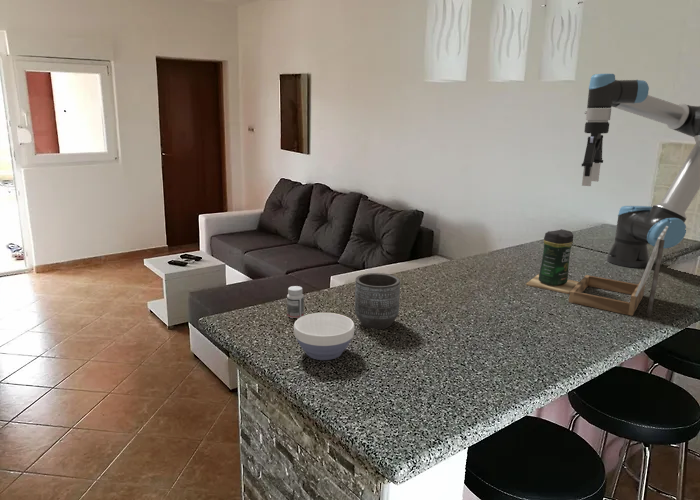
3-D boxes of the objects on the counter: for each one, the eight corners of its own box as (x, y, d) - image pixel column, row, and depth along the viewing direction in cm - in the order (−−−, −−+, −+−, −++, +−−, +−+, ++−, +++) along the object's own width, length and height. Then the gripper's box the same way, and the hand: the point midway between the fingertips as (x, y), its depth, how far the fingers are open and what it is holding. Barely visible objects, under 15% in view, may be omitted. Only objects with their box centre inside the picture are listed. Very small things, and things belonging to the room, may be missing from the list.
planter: (347, 318, 146) (348, 275, 143) (385, 312, 151) (387, 270, 147) (365, 335, 135) (367, 289, 132) (406, 328, 140) (408, 283, 137)
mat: (538, 275, 188) (538, 273, 188) (578, 283, 180) (579, 281, 180) (525, 285, 177) (526, 283, 177) (568, 293, 170) (568, 292, 169)
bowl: (305, 371, 116) (305, 340, 114) (286, 345, 129) (286, 316, 127) (363, 360, 122) (364, 330, 120) (340, 336, 134) (340, 309, 132)
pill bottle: (296, 311, 150) (296, 284, 148) (307, 316, 147) (307, 288, 145) (283, 315, 147) (283, 287, 145) (294, 320, 144) (293, 292, 142)
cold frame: (584, 284, 179) (594, 217, 173) (658, 298, 167) (672, 226, 160) (568, 302, 162) (578, 227, 156) (649, 319, 149) (664, 239, 143)
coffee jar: (554, 288, 173) (561, 234, 168) (534, 281, 179) (540, 229, 174) (571, 283, 178) (578, 230, 174) (551, 277, 185) (557, 226, 180)
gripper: (592, 120, 188) (586, 178, 194) (577, 122, 169) (570, 186, 174) (615, 120, 184) (608, 180, 190) (602, 122, 165) (595, 188, 170)
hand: (590, 183), depth 182 cm, fingers open, 13 cm apart
